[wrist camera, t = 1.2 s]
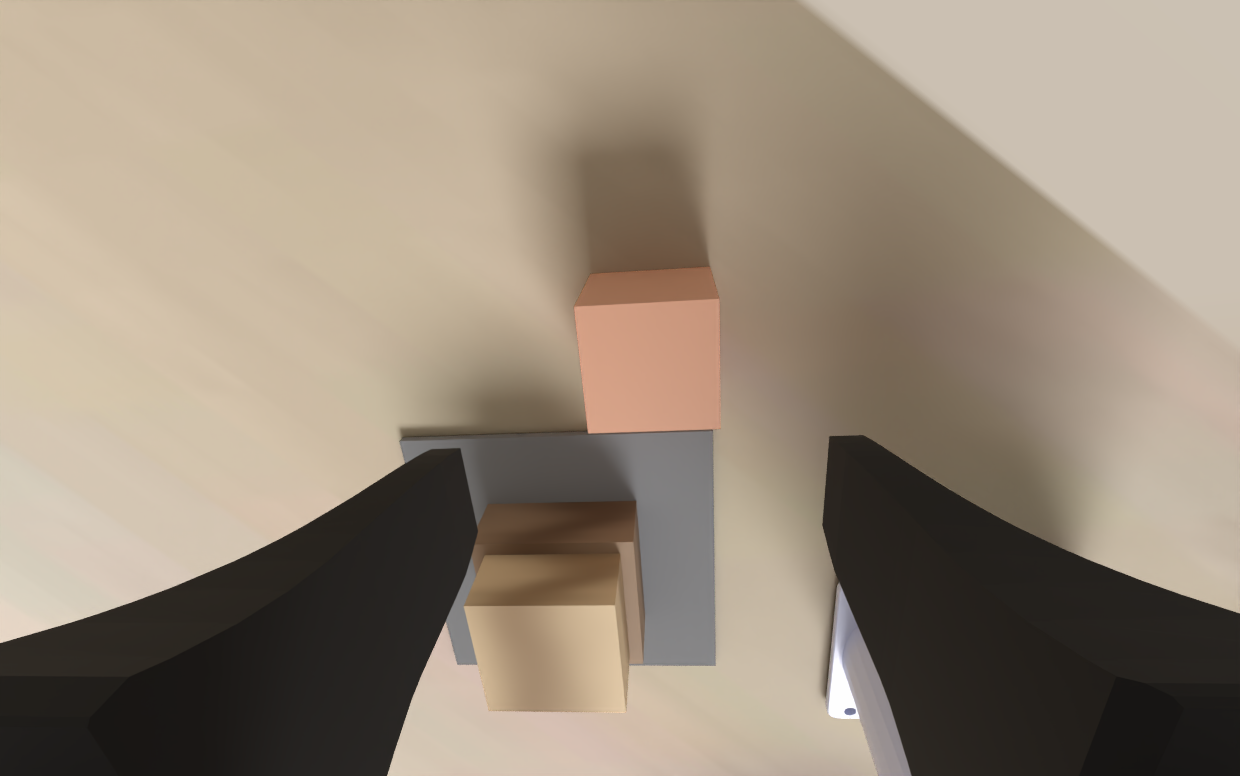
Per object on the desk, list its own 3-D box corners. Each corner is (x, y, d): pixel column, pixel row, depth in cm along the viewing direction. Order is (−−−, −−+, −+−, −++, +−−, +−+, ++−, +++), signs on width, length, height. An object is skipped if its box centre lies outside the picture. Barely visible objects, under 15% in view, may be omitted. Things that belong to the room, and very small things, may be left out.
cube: (709, 266, 20) (719, 298, 16) (711, 376, 21) (720, 428, 18) (590, 273, 20) (573, 307, 16) (601, 381, 22) (588, 433, 18)
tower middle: (620, 553, 21) (615, 605, 19) (629, 654, 23) (626, 712, 21) (484, 555, 22) (463, 606, 19) (505, 654, 24) (488, 711, 21)
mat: (712, 427, 22) (712, 430, 22) (714, 660, 27) (715, 665, 27) (402, 437, 23) (399, 440, 23) (459, 659, 28) (457, 664, 28)
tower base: (636, 500, 23) (633, 541, 21) (645, 615, 26) (643, 663, 23) (487, 504, 24) (469, 544, 21) (510, 616, 26) (495, 663, 24)
